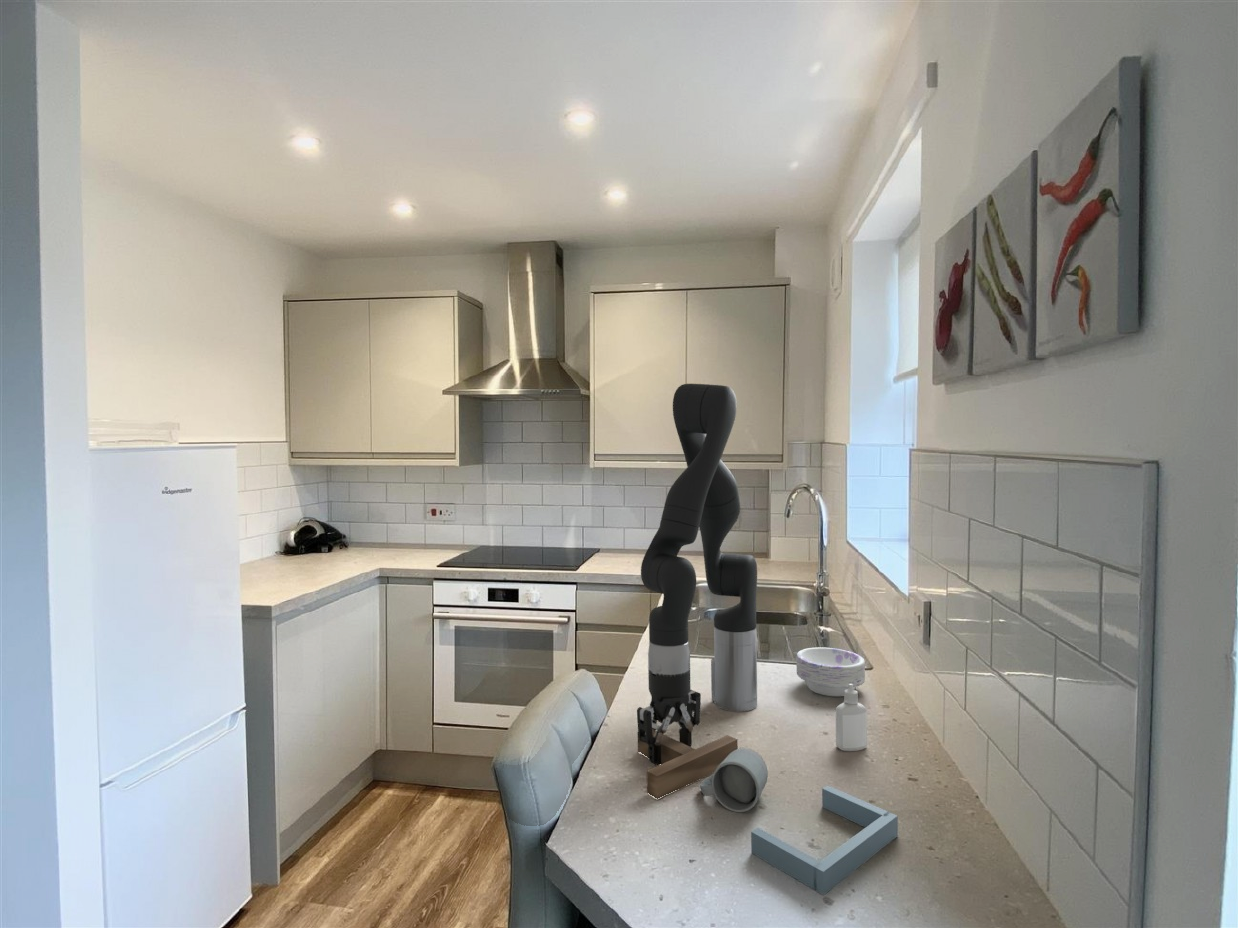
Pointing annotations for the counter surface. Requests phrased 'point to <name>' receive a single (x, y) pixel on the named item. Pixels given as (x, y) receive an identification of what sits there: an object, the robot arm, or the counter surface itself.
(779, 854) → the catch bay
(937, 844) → the counter surface
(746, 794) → the ceramic mug
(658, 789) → the scraper
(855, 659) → the paper bowls
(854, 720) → the eye dropper bottle
